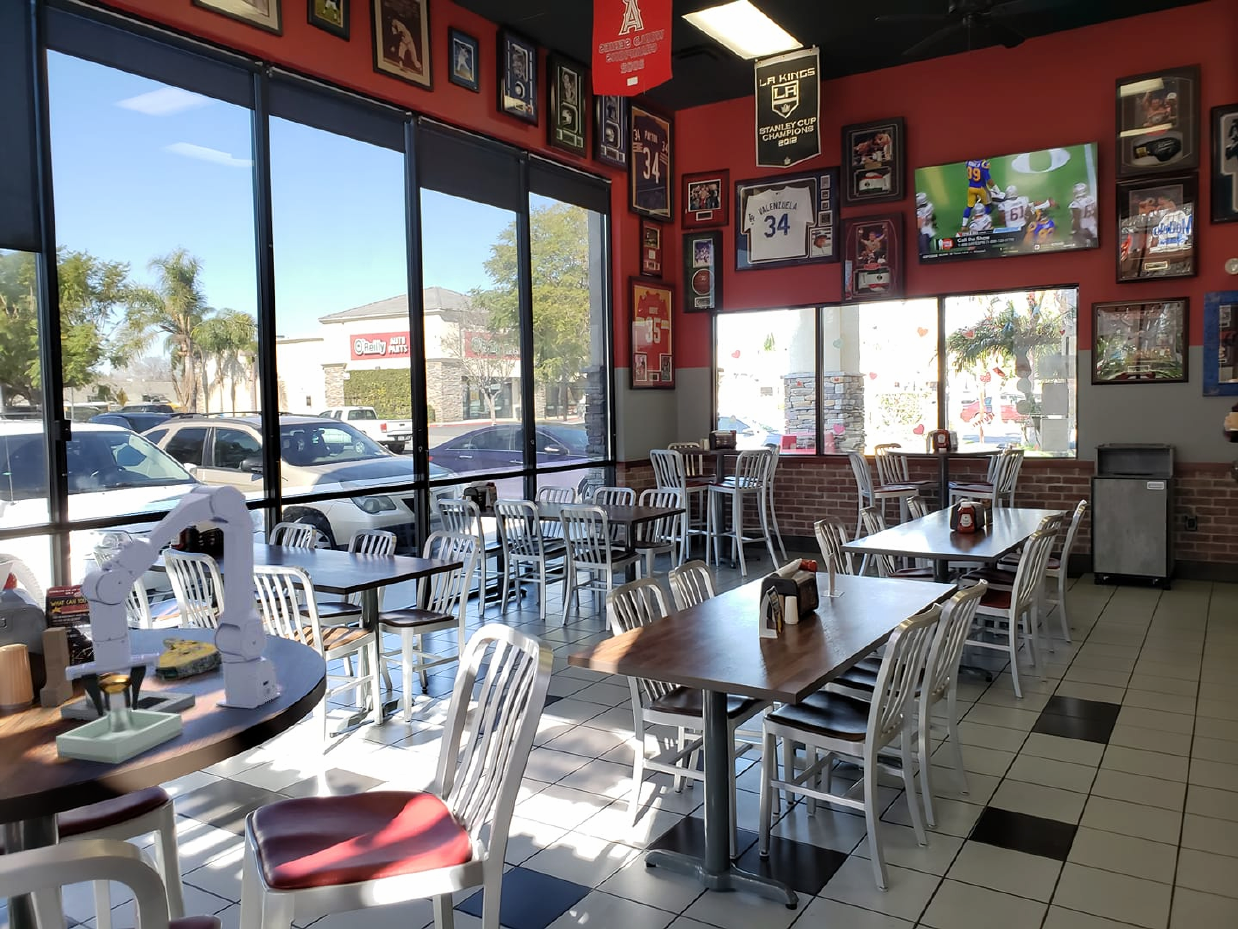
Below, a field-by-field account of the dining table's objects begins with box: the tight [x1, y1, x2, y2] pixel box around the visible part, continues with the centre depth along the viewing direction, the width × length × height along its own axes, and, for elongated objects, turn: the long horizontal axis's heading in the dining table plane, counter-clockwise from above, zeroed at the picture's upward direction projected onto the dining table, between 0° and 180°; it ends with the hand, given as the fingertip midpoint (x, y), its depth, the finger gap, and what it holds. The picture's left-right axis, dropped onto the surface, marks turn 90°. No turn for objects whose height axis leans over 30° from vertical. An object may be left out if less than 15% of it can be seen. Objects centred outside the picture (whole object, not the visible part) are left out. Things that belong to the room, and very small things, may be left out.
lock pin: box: [99, 674, 134, 733], centre depth 164 cm, size 5×5×9 cm
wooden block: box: [39, 626, 74, 708], centre depth 189 cm, size 7×3×15 cm, turn 6°
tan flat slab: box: [154, 637, 223, 682], centre depth 212 cm, size 14×6×30 cm
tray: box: [55, 710, 184, 765], centre depth 164 cm, size 14×14×4 cm
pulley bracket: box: [59, 680, 196, 722], centre depth 182 cm, size 22×12×6 cm, turn 70°
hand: (118, 711), depth 163 cm, fingers closed on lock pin, 5 cm apart
